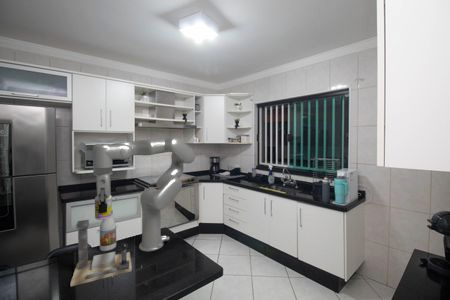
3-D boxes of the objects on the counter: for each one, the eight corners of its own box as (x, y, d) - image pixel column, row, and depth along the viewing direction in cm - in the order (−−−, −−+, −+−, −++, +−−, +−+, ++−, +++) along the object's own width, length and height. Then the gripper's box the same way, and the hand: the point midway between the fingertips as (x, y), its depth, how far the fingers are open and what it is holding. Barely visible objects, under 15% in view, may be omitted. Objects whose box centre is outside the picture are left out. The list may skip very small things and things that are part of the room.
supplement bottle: (91, 218, 93) (91, 190, 92) (106, 214, 99) (105, 187, 98) (100, 221, 90) (100, 192, 89) (114, 216, 96) (114, 189, 95)
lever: (128, 263, 93) (128, 240, 92) (129, 267, 90) (129, 243, 90) (118, 265, 91) (118, 242, 91) (118, 269, 88) (118, 245, 88)
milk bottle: (96, 249, 108) (95, 212, 107) (109, 242, 115) (109, 207, 114) (106, 252, 105) (106, 214, 104) (119, 245, 113) (119, 209, 112)
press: (129, 254, 104) (129, 212, 103) (131, 270, 91) (131, 223, 90) (77, 265, 94) (76, 219, 93) (70, 286, 81) (69, 232, 80)
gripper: (112, 173, 87) (112, 214, 88) (112, 168, 103) (113, 203, 104) (91, 174, 84) (91, 217, 85) (95, 169, 99) (95, 205, 100)
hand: (103, 209), depth 94 cm, fingers closed on supplement bottle, 6 cm apart
